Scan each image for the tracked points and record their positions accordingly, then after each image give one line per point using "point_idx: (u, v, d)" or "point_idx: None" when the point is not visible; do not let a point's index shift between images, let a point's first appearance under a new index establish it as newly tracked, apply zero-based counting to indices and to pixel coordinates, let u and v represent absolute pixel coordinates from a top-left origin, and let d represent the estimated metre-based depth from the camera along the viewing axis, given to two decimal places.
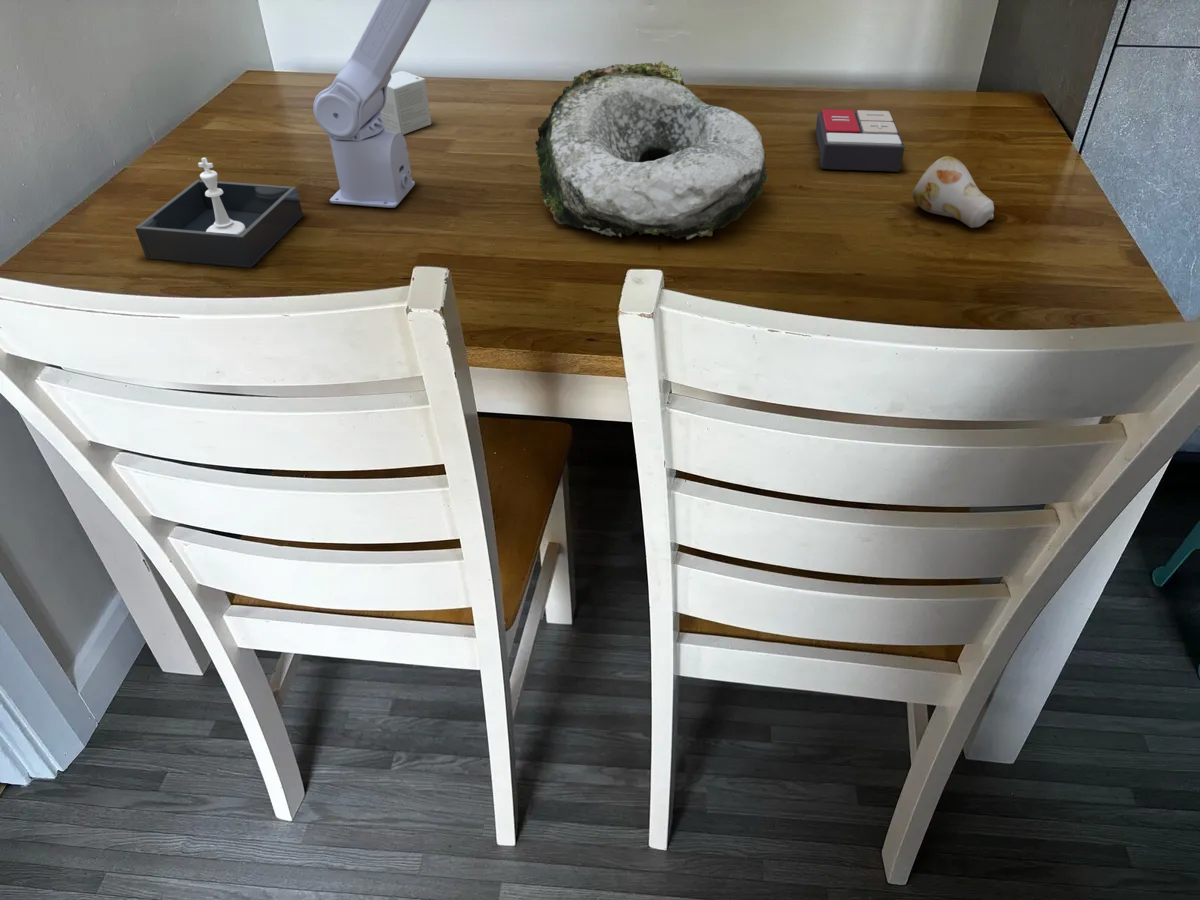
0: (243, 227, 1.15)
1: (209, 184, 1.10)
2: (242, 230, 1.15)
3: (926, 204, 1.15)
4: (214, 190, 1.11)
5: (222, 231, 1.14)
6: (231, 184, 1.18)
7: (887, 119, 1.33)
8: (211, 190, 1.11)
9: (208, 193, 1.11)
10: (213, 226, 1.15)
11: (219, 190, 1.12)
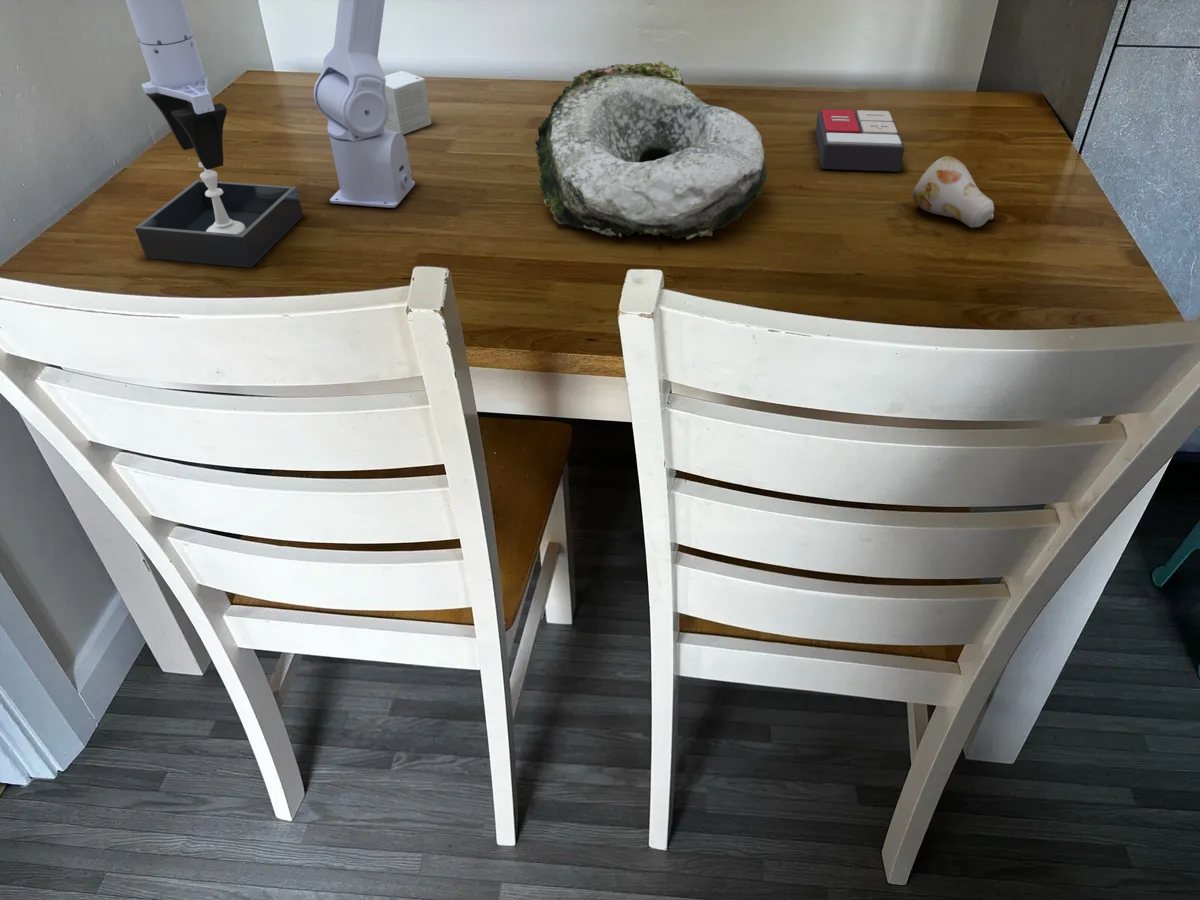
0: (243, 227, 1.15)
1: (209, 184, 1.10)
2: (242, 230, 1.15)
3: (926, 204, 1.15)
4: (214, 190, 1.11)
5: (222, 231, 1.14)
6: (231, 184, 1.18)
7: (887, 119, 1.33)
8: (211, 190, 1.11)
9: (208, 193, 1.11)
10: (213, 226, 1.15)
11: (219, 190, 1.12)
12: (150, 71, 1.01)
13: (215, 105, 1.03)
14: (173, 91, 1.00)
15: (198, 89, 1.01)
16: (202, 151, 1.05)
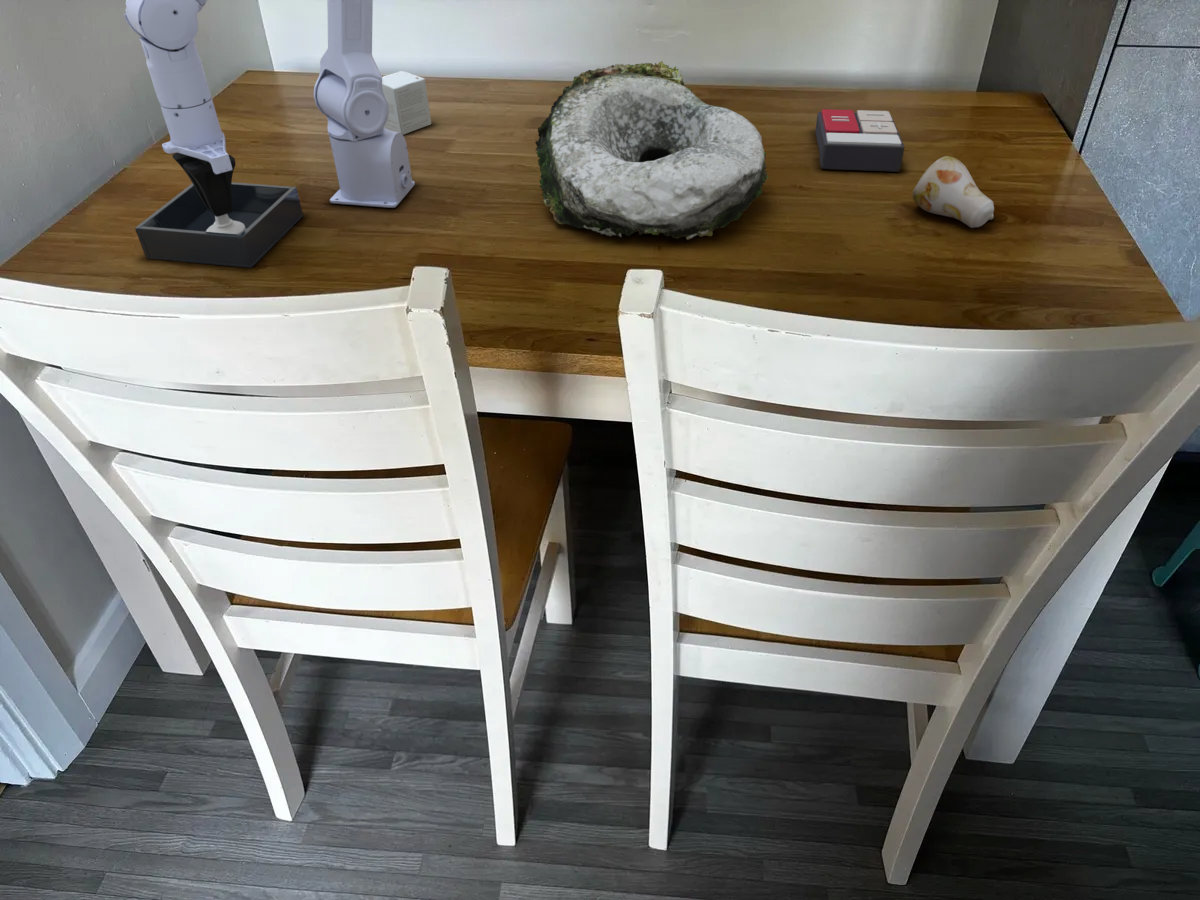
0: (243, 227, 1.15)
1: None
2: (242, 230, 1.15)
3: (926, 204, 1.15)
4: None
5: (222, 231, 1.14)
6: (231, 184, 1.18)
7: (887, 119, 1.33)
8: None
9: None
10: (213, 226, 1.15)
11: None
12: (170, 132, 1.05)
13: None
14: (192, 152, 1.04)
15: (216, 149, 1.05)
16: (212, 200, 1.10)
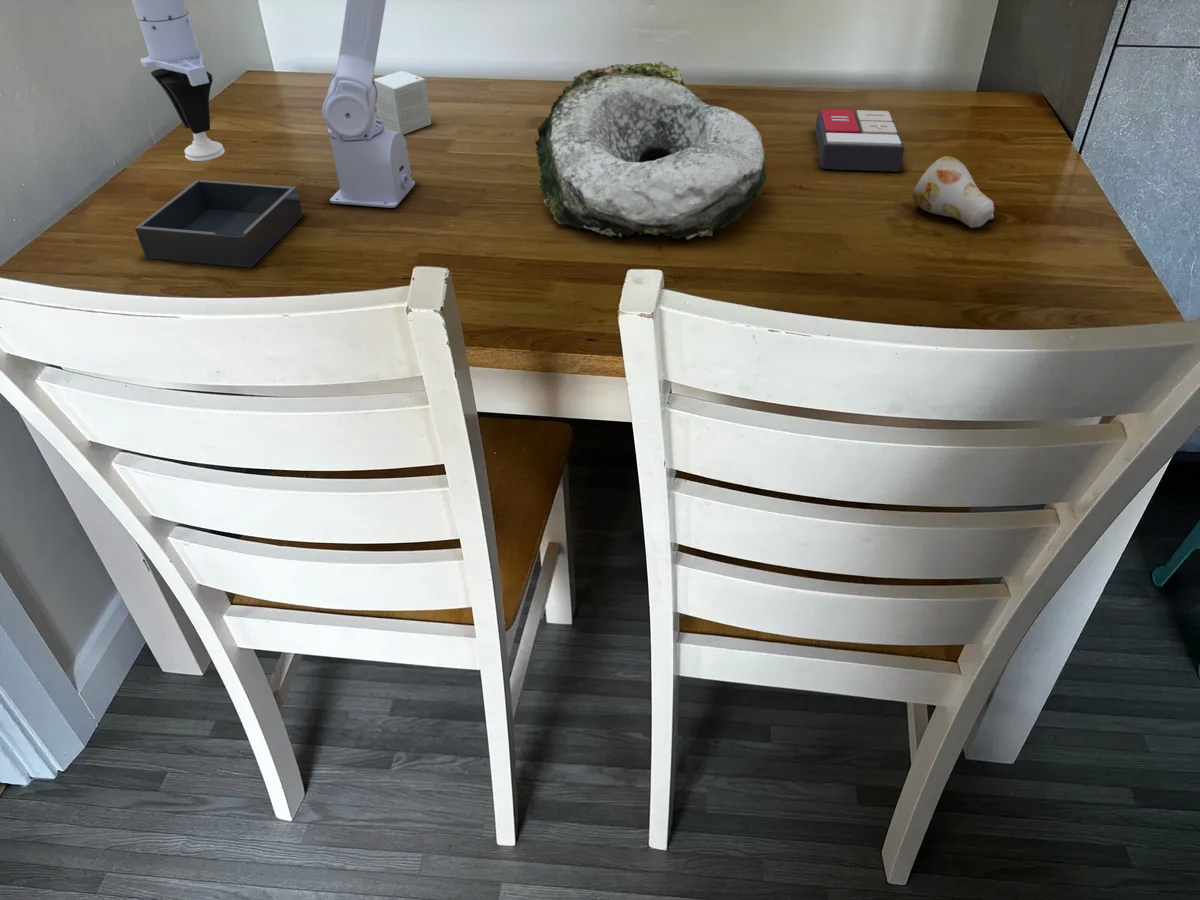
0: (221, 146, 1.18)
1: None
2: (220, 149, 1.18)
3: (926, 204, 1.15)
4: None
5: (200, 149, 1.17)
6: (231, 184, 1.18)
7: (887, 119, 1.33)
8: None
9: None
10: (191, 145, 1.18)
11: None
12: (148, 46, 1.08)
13: None
14: (170, 65, 1.07)
15: (193, 63, 1.08)
16: (190, 116, 1.13)
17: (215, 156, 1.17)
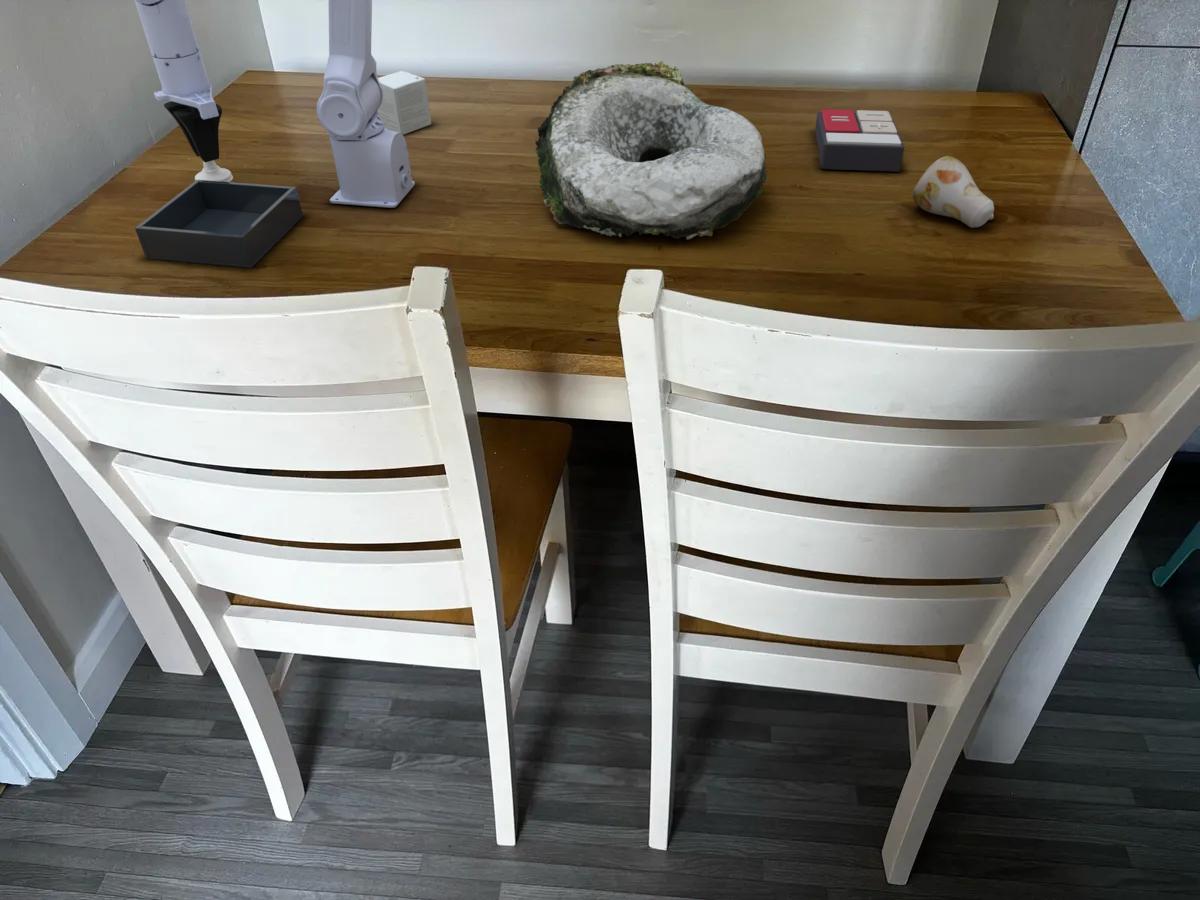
0: (229, 173, 1.25)
1: None
2: (228, 176, 1.24)
3: (926, 204, 1.15)
4: None
5: (209, 176, 1.23)
6: (231, 184, 1.18)
7: (886, 119, 1.33)
8: None
9: None
10: (201, 172, 1.24)
11: None
12: (162, 81, 1.14)
13: None
14: (182, 99, 1.14)
15: (204, 97, 1.14)
16: (200, 146, 1.20)
17: None
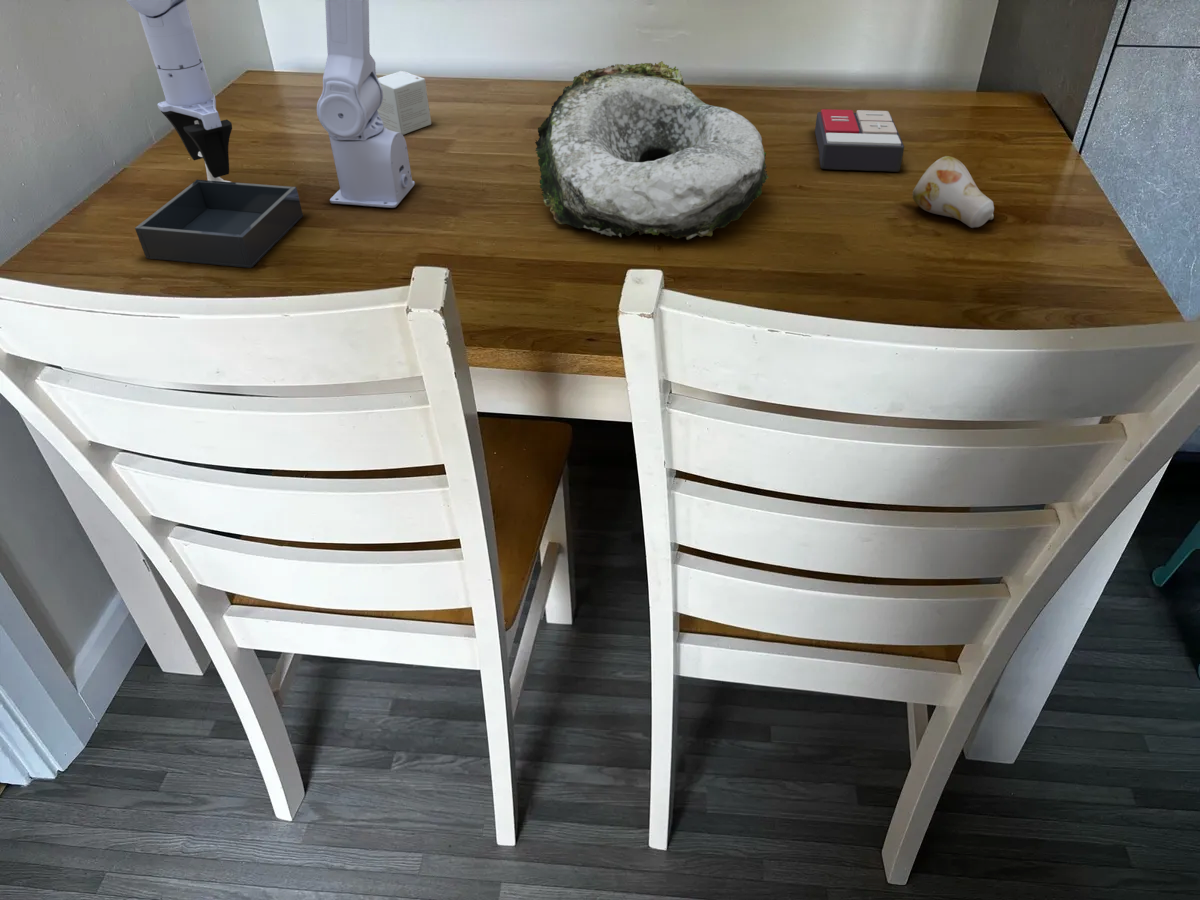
0: None
1: None
2: None
3: (926, 204, 1.15)
4: None
5: None
6: (231, 184, 1.18)
7: (886, 119, 1.33)
8: None
9: (200, 153, 1.22)
10: None
11: None
12: (165, 92, 1.15)
13: (222, 121, 1.17)
14: (185, 110, 1.15)
15: (207, 108, 1.15)
16: (210, 161, 1.19)
17: None
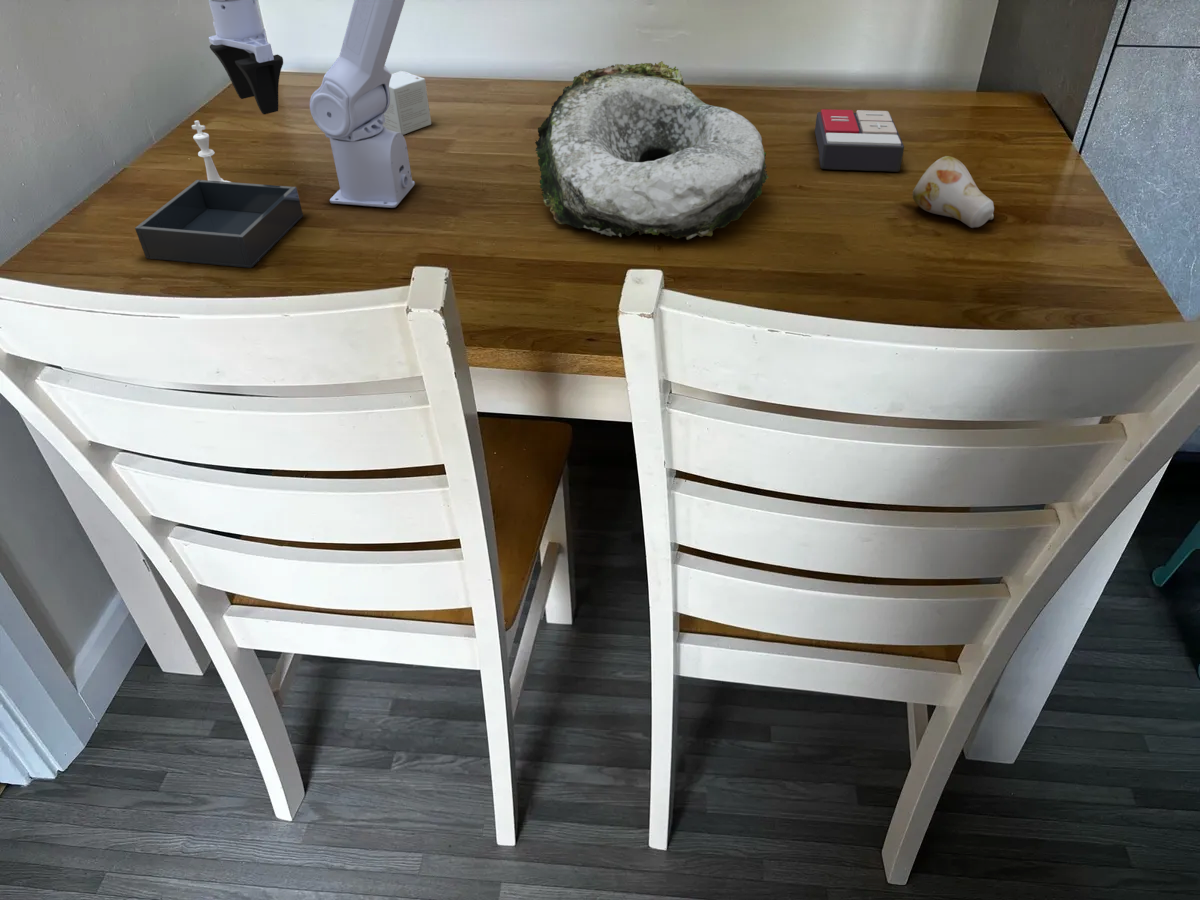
0: None
1: (201, 145, 1.21)
2: None
3: (926, 204, 1.15)
4: (206, 151, 1.22)
5: None
6: (231, 184, 1.18)
7: (886, 119, 1.33)
8: (203, 151, 1.22)
9: (200, 153, 1.22)
10: None
11: (211, 151, 1.22)
12: (217, 25, 1.14)
13: (273, 56, 1.17)
14: (237, 42, 1.14)
15: (259, 41, 1.14)
16: (261, 97, 1.18)
17: None
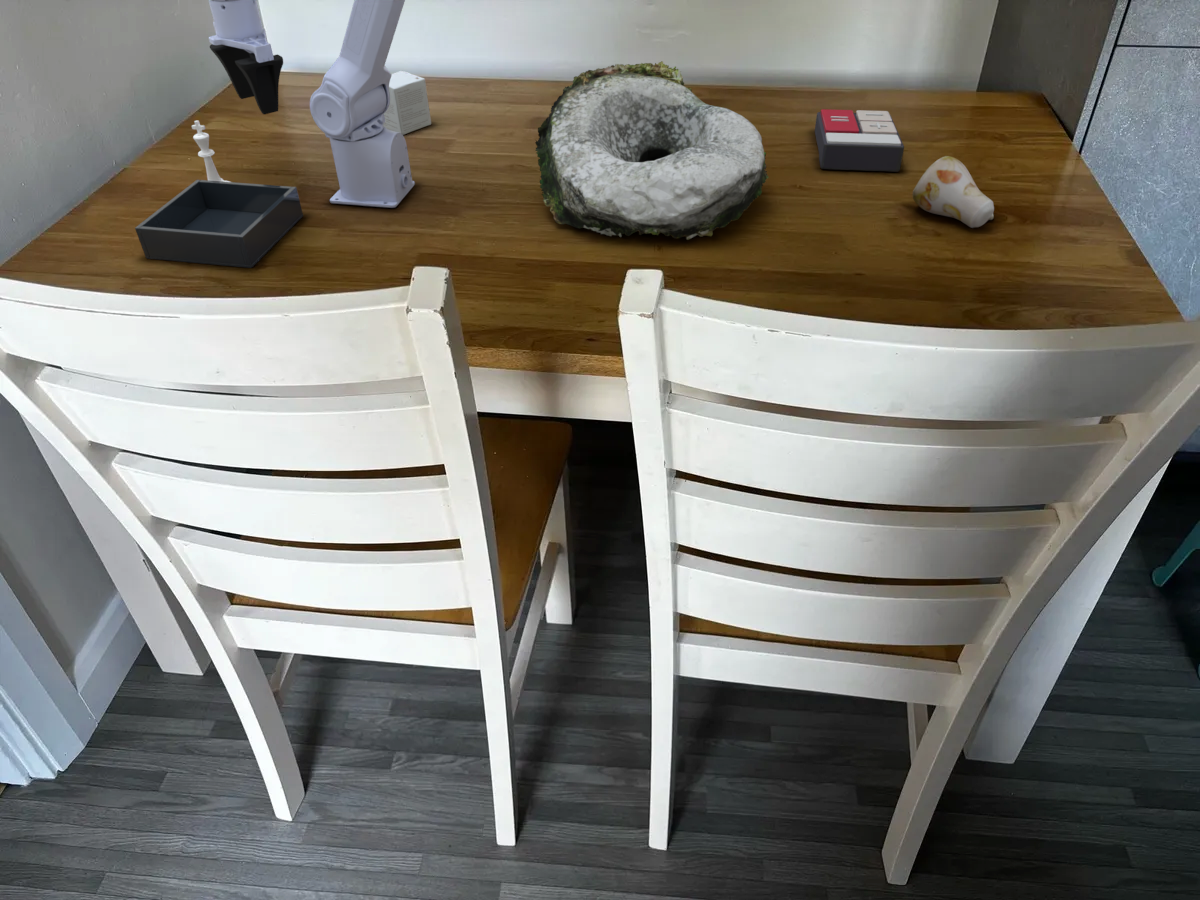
0: None
1: (201, 145, 1.21)
2: None
3: (926, 204, 1.15)
4: (206, 151, 1.22)
5: None
6: (231, 184, 1.18)
7: (886, 119, 1.33)
8: (203, 151, 1.22)
9: (200, 153, 1.22)
10: None
11: (211, 151, 1.22)
12: (217, 25, 1.14)
13: (273, 56, 1.17)
14: (237, 42, 1.14)
15: (259, 41, 1.14)
16: (261, 97, 1.18)
17: None
